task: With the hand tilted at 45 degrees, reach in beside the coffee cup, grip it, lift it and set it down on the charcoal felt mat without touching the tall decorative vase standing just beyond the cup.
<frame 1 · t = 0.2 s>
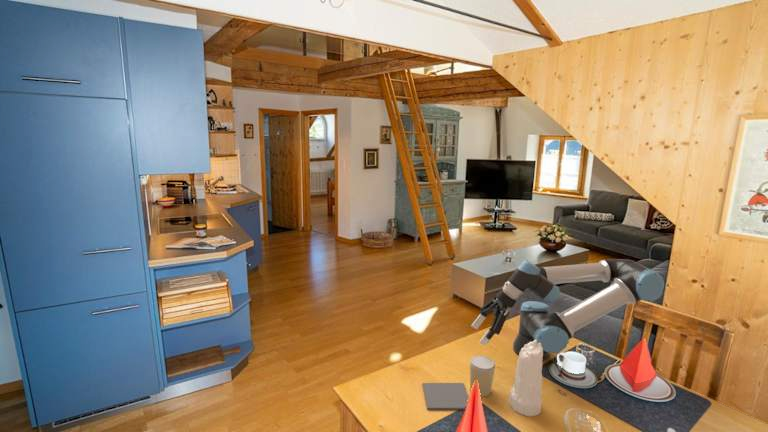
hand: (477, 335, 161), 15 cm above the table, tool tilted 35°, fingers open, 13 cm apart
charcoal mat: (446, 396, 148), on the table
decorative vase: (525, 406, 143), on the table
coffee cup: (480, 390, 152), on the table
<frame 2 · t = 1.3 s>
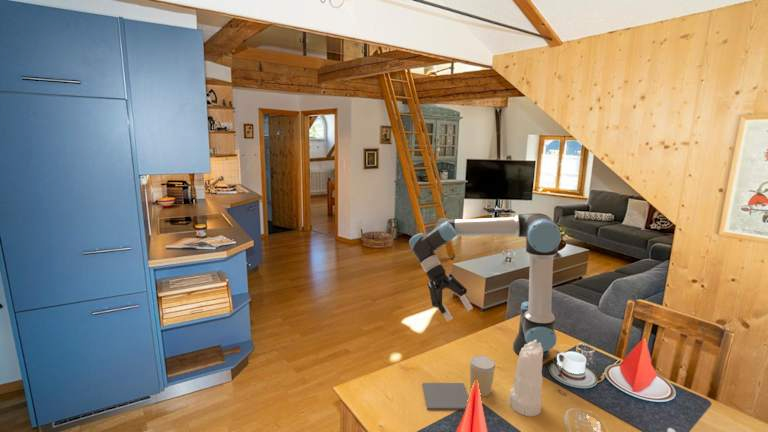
hand: (460, 315, 156), 26 cm above the table, tool tilted 45°, fingers open, 13 cm apart
nothing on the table moved.
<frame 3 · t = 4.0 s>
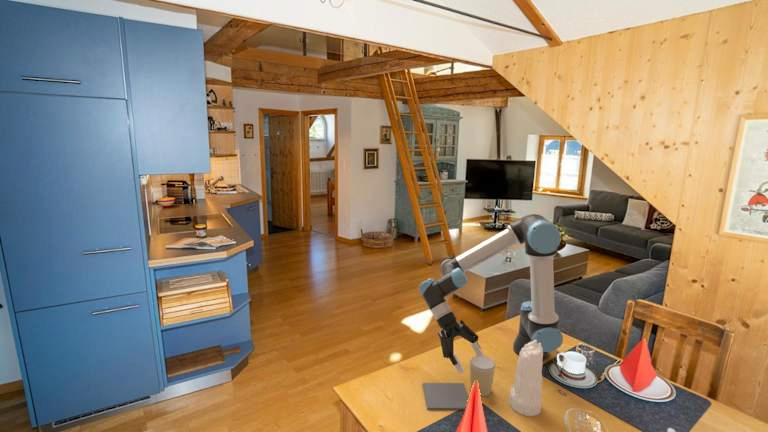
hand: (472, 365, 152), 9 cm above the table, tool tilted 45°, fingers open, 13 cm apart
nothing on the table moved.
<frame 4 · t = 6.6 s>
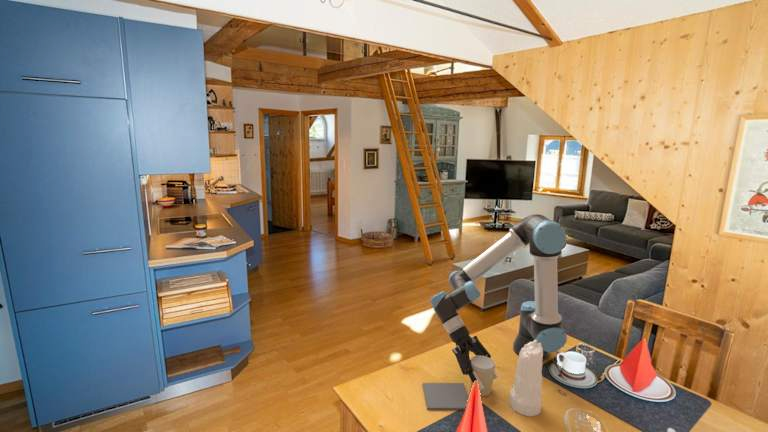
hand: (488, 383, 149), 4 cm above the table, tool tilted 45°, fingers closed on coffee cup, 9 cm apart
coffee cup: (480, 390, 152), on the table, touching gripper
everything else where it was.
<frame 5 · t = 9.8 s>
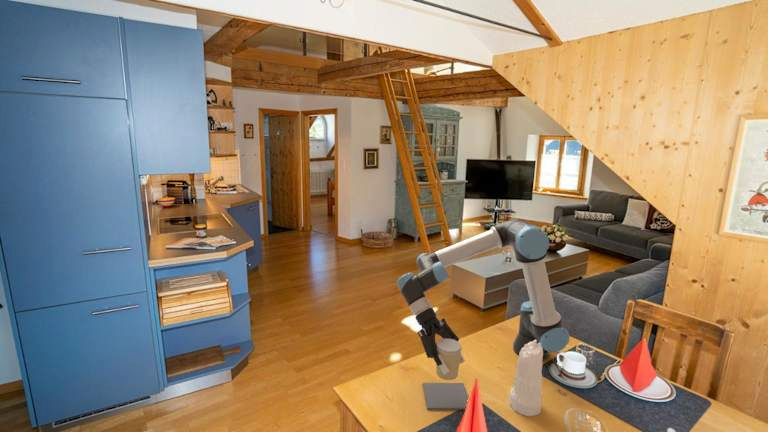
hand: (454, 367, 142), 14 cm above the table, tool tilted 45°, fingers closed on coffee cup, 9 cm apart
coffee cup: (446, 374, 146), point 9 cm above the table, touching gripper
everything else where it was.
when the fingers open (6 cm above the table, at t = 13.0 s): coffee cup moves 3 cm, resting on charcoal mat.
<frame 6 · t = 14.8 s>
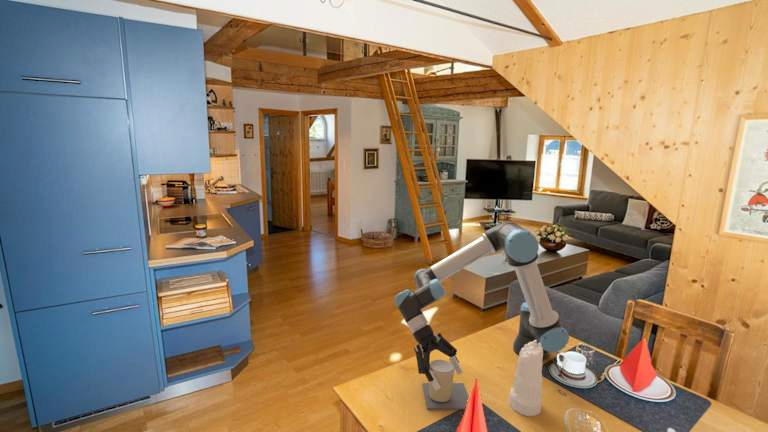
hand: (449, 380, 145), 7 cm above the table, tool tilted 45°, fingers open, 13 cm apart
coffee cup: (439, 396, 146), point 1 cm above the table, touching charcoal mat, gripper
everything else where it was.
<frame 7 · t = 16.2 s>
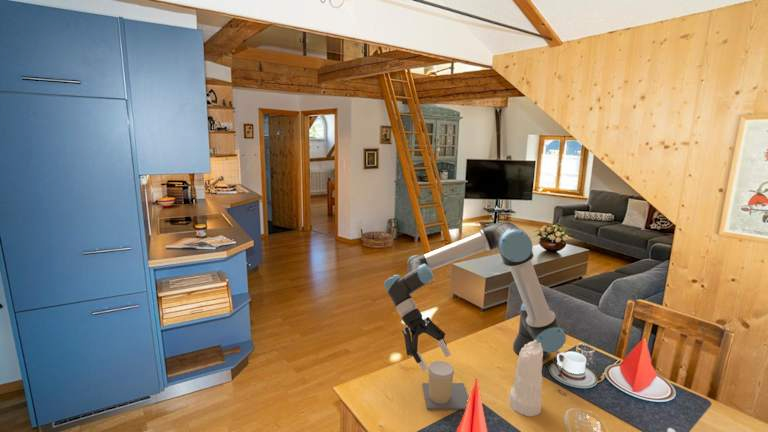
hand: (437, 362, 148), 12 cm above the table, tool tilted 45°, fingers open, 13 cm apart
coffee cup: (439, 397, 146), point 1 cm above the table, touching charcoal mat
everything else where it was.
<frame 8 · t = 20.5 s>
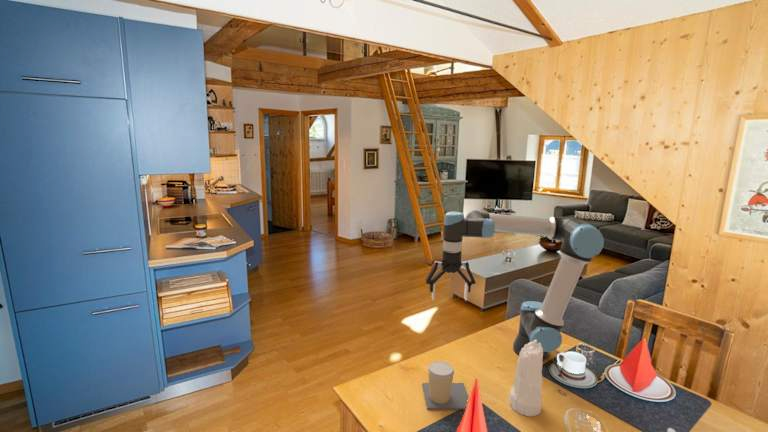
hand: (449, 299, 164), 29 cm above the table, tool pointing down, fingers open, 13 cm apart
nothing on the table moved.
at the end: coffee cup inside the target area on the charcoal mat (2.9 cm from its centre), point 0.6 cm above the charcoal mat's base; coffee cup tilted 0°; decorative vase moved 0.2 cm from its start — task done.
